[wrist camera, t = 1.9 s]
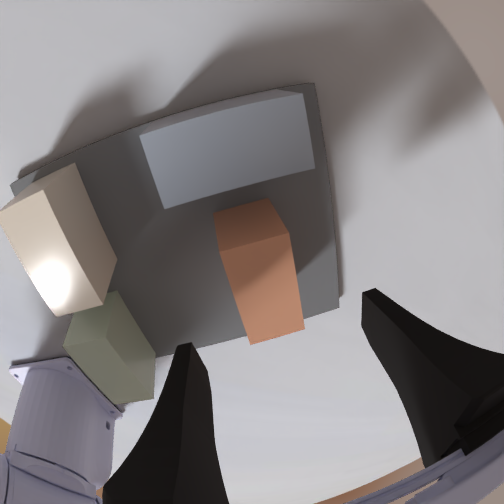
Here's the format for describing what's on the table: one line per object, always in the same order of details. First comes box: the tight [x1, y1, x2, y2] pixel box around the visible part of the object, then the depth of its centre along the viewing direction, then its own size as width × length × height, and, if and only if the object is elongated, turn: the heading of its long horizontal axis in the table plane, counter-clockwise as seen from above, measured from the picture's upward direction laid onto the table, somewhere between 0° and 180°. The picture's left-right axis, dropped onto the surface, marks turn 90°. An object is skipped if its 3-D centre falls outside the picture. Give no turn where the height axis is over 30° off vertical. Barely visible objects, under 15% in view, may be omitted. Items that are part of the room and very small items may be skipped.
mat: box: [10, 83, 339, 358], centre depth 18 cm, size 15×17×1 cm
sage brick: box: [63, 290, 156, 405], centre depth 18 cm, size 6×3×4 cm, turn 12°
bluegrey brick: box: [139, 90, 315, 209], centre depth 13 cm, size 6×3×4 cm, turn 102°
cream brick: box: [0, 163, 117, 317], centre depth 13 cm, size 6×3×4 cm, turn 12°
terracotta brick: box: [213, 198, 305, 345], centre depth 16 cm, size 6×3×4 cm, turn 12°
